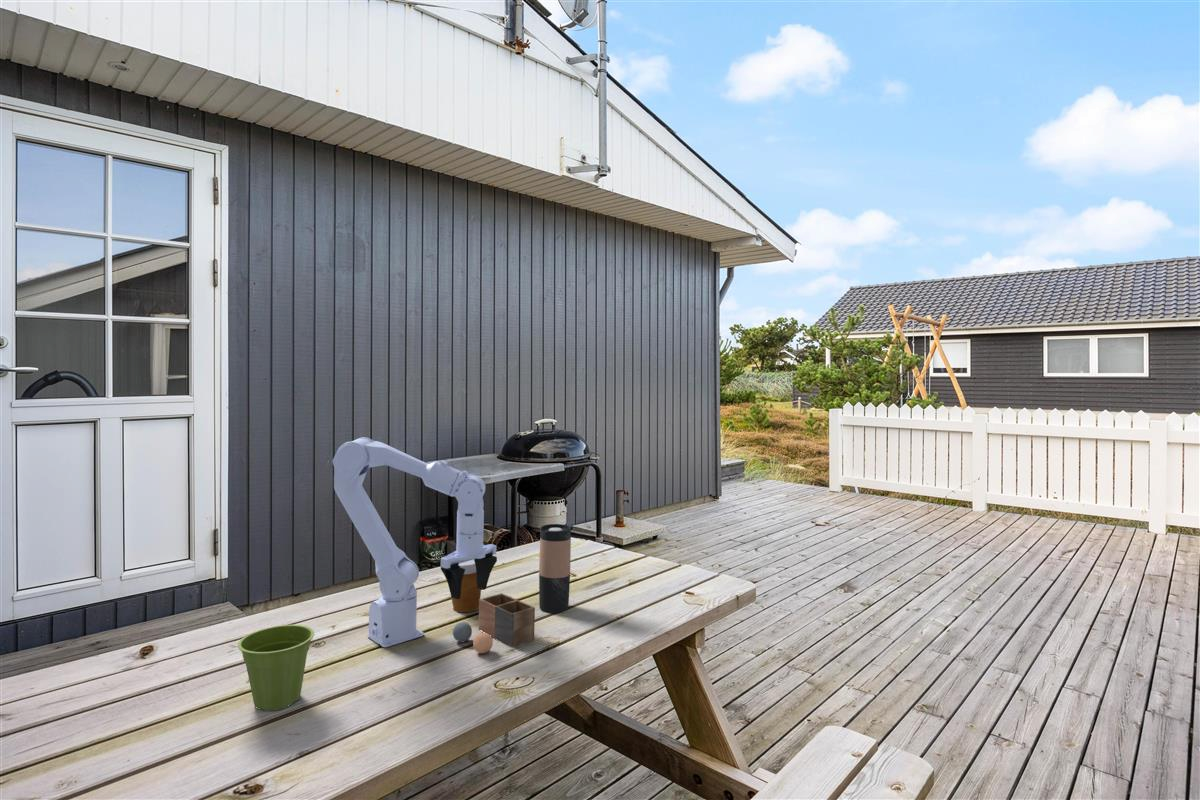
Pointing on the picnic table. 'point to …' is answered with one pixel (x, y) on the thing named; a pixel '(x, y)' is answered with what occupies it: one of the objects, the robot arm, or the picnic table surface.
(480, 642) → the terracotta ball
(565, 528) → the travel mug
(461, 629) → the charcoal ball
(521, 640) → the divided wooden sorting box
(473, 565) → the disposable coffee cup
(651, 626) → the picnic table surface
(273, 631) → the plant pot
